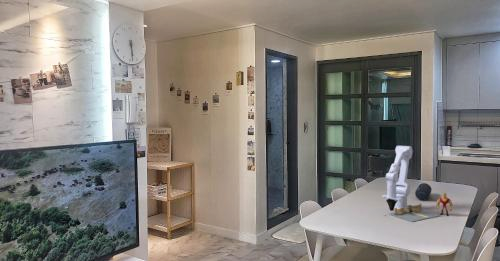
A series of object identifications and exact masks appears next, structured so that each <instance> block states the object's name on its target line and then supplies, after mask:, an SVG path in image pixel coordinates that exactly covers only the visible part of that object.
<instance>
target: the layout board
mask: <svg viewBox="0 0 500 261" xmlns="http://www.w3.org/2000/svg"><path fill="white" fill-rule="evenodd" d="M388 215H389V216H393V217H396V218H399V219H401V220H404V221H408V222H411V223H414V222H415V223H416V222H418V221H423V220H428V219H429V220H430V219H433V218H438V217H441V215H442V214H441V215H440V214H437V213H434V212H431V211H427V210H424V209H421V210H418V211H413V212H412V213H410V212H408V213H402V214H397V215H394V212H391V213H390V212H389V213H388Z"/></svg>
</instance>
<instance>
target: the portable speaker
mask: <svg viewBox="0 0 500 261" xmlns="http://www.w3.org/2000/svg"><path fill="white" fill-rule="evenodd" d="M431 193H432V186H431V185H430V184H428V183H426V182H422V183H420V184H419V185H418V186H417V188H416V190H415V192H414V194H415V197H416V199H418V200H419V201H426V200H428V199H429V198H430V196H431Z"/></svg>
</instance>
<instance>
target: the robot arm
mask: <svg viewBox="0 0 500 261" xmlns="http://www.w3.org/2000/svg"><path fill="white" fill-rule="evenodd" d="M394 150H395V158H394V162H393V163H392V164H391V165H390V168H389V171H388V172H387V173H385V182H386V187H387V188H386V191H387V192H386V194H382V199H383V198H384V199H386V201H385V202H386V203H387V204H388V208H389V211H391V212H394V208H397V209H398V208H404V207H408V196H410V194H411V193H410V192H411V189H410V188H411V186H410V184H409V183H408V182H407V179H408V173H409V164H410V159H412V156H413V146H411V145H396V147H395V149H394Z"/></svg>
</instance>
